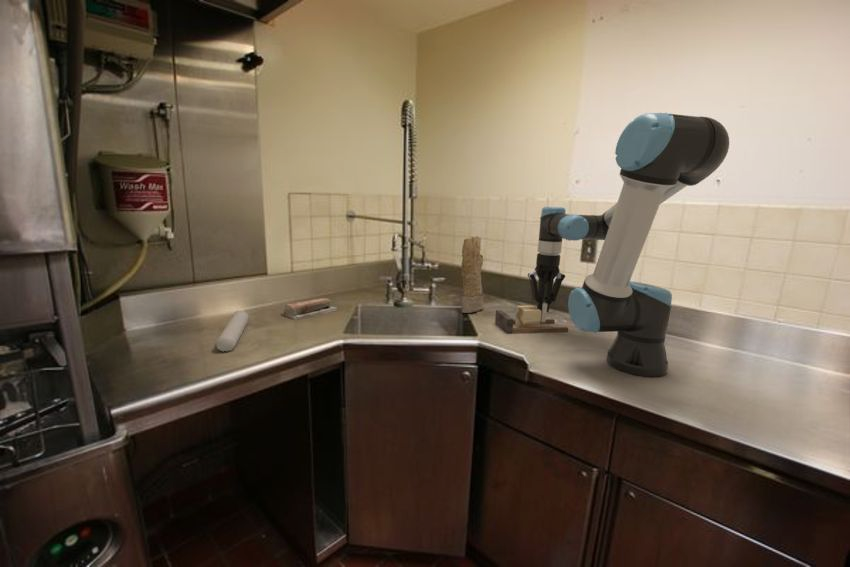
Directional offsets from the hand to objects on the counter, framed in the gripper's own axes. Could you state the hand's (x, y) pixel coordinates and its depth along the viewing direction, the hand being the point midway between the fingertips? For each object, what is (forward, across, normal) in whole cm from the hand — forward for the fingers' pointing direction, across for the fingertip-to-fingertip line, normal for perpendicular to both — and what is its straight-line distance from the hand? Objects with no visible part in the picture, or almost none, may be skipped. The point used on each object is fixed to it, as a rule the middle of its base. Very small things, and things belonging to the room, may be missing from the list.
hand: (541, 320), depth 138 cm
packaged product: (+4, +80, -26) cm, 85 cm away
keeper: (+2, +5, 0) cm, 6 cm away
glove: (+4, +17, -27) cm, 32 cm away
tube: (+4, +100, 0) cm, 100 cm away
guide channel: (+4, +4, 0) cm, 5 cm away
